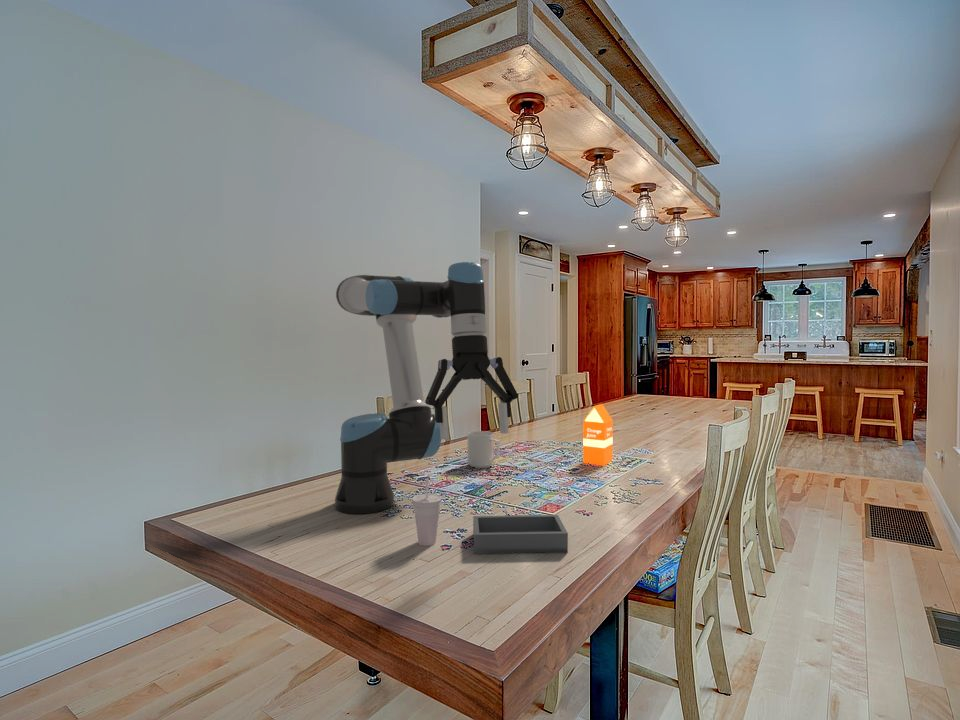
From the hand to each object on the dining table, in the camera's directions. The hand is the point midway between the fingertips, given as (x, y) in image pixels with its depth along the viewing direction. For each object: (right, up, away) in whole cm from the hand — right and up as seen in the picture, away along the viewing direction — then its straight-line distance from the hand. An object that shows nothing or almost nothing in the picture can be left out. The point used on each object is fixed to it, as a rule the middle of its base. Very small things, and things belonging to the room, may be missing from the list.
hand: (475, 436), depth 111 cm
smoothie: (-10, -23, +2) cm, 26 cm away
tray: (+9, -23, +1) cm, 25 cm away
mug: (+3, -20, +67) cm, 70 cm away
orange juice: (+42, -20, +74) cm, 87 cm away
